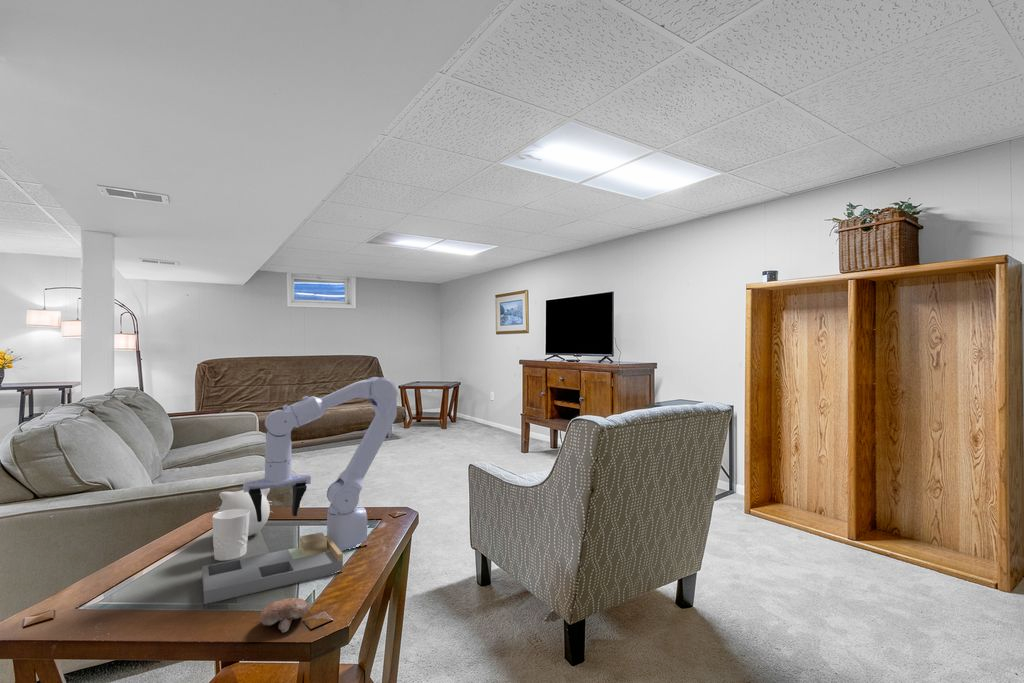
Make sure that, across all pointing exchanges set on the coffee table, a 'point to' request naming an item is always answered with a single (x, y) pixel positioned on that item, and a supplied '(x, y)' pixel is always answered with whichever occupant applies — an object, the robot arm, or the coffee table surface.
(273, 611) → the mushroom
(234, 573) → the board
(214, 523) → the white cup
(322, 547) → the maple block
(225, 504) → the cat head
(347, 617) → the coffee table surface
